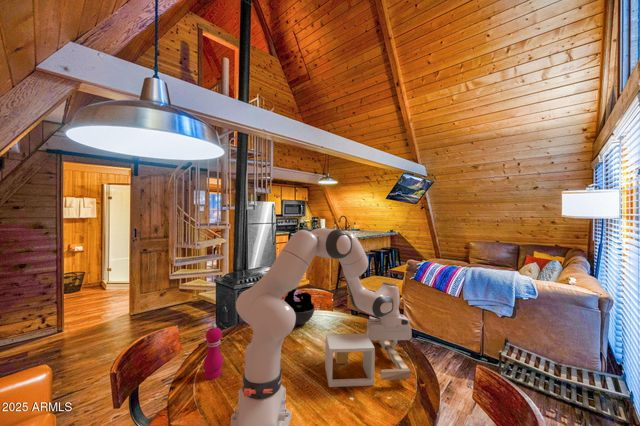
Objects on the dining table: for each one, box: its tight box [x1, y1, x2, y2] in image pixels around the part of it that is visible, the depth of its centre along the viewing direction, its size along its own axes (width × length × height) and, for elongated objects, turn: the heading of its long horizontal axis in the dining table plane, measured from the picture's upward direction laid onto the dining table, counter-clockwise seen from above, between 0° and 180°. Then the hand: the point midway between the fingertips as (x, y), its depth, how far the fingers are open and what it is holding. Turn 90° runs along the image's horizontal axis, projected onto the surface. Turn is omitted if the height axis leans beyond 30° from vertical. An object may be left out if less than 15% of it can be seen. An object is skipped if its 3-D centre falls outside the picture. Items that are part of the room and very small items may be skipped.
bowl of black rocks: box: [284, 288, 315, 326], centre depth 157 cm, size 20×20×19 cm
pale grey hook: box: [376, 340, 411, 381], centre depth 118 cm, size 35×12×3 cm, turn 5°
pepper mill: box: [203, 324, 224, 380], centre depth 106 cm, size 7×7×20 cm
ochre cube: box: [334, 352, 349, 365], centre depth 118 cm, size 5×5×5 cm
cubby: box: [324, 332, 376, 388], centre depth 107 cm, size 12×17×14 cm
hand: (388, 349), depth 121 cm, fingers closed on pale grey hook, 2 cm apart
